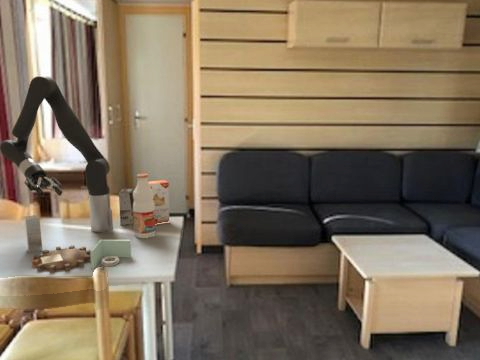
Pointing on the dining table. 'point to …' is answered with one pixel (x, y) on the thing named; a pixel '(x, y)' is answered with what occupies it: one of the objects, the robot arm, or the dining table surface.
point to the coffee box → (126, 206)
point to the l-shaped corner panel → (110, 252)
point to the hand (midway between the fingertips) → (52, 194)
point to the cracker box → (161, 200)
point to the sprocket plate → (61, 259)
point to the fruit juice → (143, 208)
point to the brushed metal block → (33, 233)
